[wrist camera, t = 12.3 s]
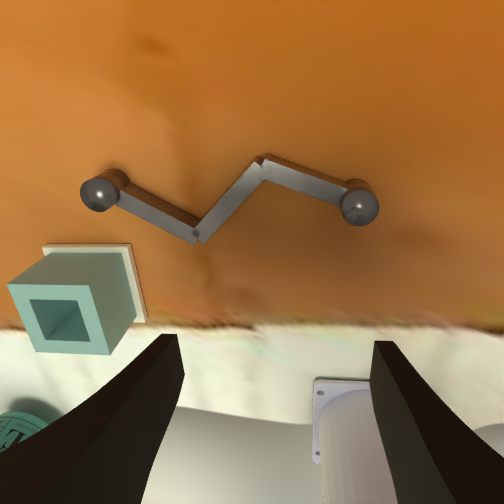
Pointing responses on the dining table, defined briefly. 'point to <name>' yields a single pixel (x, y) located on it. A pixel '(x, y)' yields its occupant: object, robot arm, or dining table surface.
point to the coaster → (128, 263)
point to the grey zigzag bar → (229, 197)
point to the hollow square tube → (75, 302)
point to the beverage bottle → (18, 428)
